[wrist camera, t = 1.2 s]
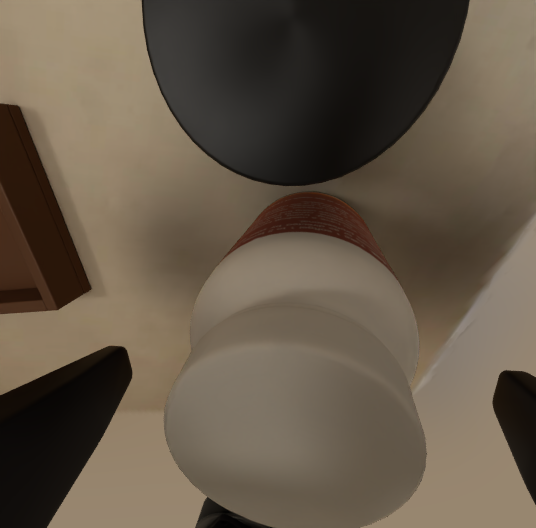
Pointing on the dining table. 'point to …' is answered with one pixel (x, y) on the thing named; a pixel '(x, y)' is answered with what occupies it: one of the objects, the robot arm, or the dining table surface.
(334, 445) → the pill bottle
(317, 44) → the charcoal tin
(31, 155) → the walnut tray
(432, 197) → the dining table surface
